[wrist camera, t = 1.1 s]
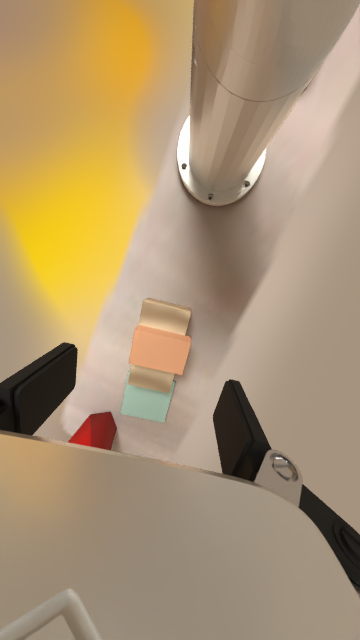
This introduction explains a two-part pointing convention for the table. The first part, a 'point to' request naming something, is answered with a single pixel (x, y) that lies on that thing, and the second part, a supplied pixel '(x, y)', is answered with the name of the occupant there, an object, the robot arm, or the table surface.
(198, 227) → the table surface
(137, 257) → the table surface
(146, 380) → the sheet
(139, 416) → the mat
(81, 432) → the french fries
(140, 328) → the card
